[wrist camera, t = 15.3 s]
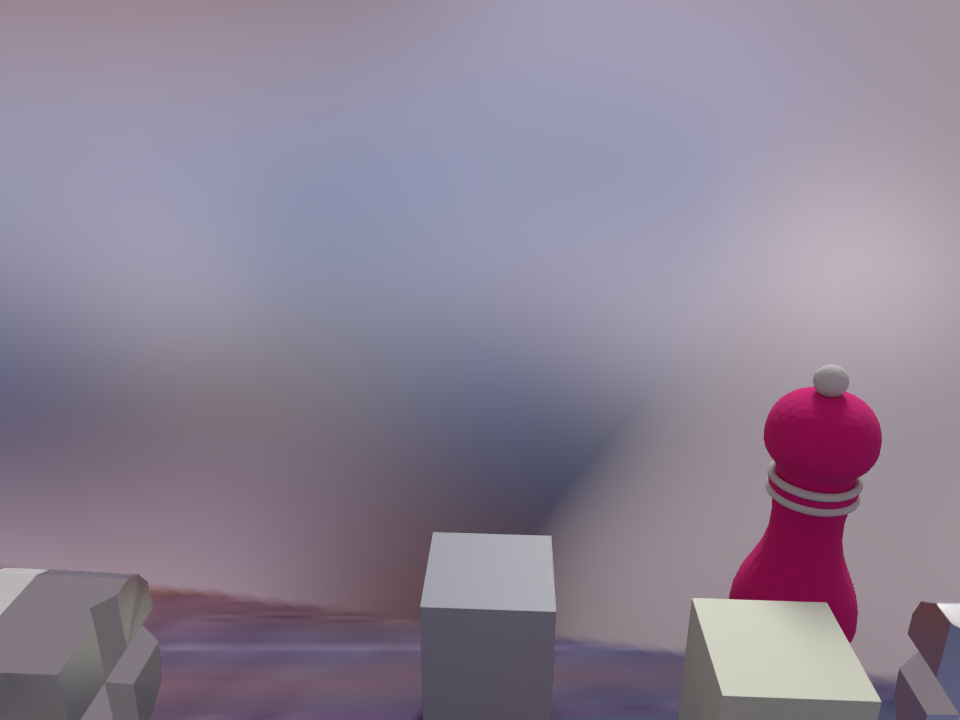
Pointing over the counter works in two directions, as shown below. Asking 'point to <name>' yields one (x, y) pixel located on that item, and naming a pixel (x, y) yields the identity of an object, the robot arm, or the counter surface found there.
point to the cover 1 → (488, 627)
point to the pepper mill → (812, 496)
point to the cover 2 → (771, 664)
